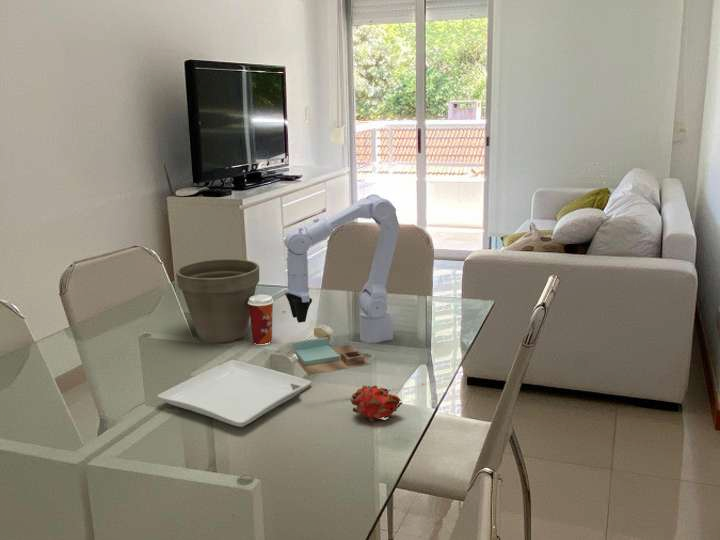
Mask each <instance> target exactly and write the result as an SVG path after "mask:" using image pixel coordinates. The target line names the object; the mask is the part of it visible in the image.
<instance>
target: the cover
mask: <svg viewBox="0 0 720 540" xmlns="http://www.w3.org/2000/svg"><path fill="white" fill-rule="evenodd" d="M329 342H330V341H329V339H328V338H327V337H326V338H319V339H318V338H315V339H314V338H313V339H306V340H300V341H294V342H293V353H295V354H296V355H297V357H298V358H299V359H300V360H301V362H302V363H303V364H304V365H311V364H318V363H324V362H330V361H336V360H340V356H339V355H338V354H337V353H336V352H335V351H334V350H333V349H332V348H331V347H332V346H330V345H329V344H330V343H329Z"/></svg>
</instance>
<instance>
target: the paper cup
mask: <svg viewBox="0 0 720 540" xmlns="http://www.w3.org/2000/svg"><path fill="white" fill-rule="evenodd" d="M274 302H275V300H274V299H273V297H272V295H269V294H254V296H251V297H250V298H249V301H248V304H249V310H250V319H249V321H250V326H251V335H252V336H251V337H252V342H253V343H252V344H254V343H256V344H265V343H269V342H271V341H273V306H274V305H273V303H274ZM271 343H272V342H271Z"/></svg>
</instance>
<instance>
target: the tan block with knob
mask: <svg viewBox="0 0 720 540" xmlns="http://www.w3.org/2000/svg"><path fill="white" fill-rule="evenodd" d="M313 335H314V336H315V337H316V339H319V338H326V337H327V338H328V339H329V342H331V334H330V333H328V331H326V330H324V329H323V328H321V327H315V328H313Z"/></svg>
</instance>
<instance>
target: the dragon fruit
mask: <svg viewBox="0 0 720 540" xmlns="http://www.w3.org/2000/svg"><path fill="white" fill-rule="evenodd" d="M350 402H351V405H353V406H355V407H353V408H352V412H354V413H355V414H363V417H364V416H365V417H366V418H367V419H368V420H369V422H373V420H374V419H375V418H377V419H376V420H381V419H380V418H382V417H389V416H391V415H392V414H393V413H394V412H397V409H399V408H400V406H401V405H403V402H402V400H401V398H400V397H399V396H397V395H396V394H390V393H389V390H388V389H387V388H384V387H378V386H377V385H373V386H370V385H368V386H367V385H362V387H361V388H358V389H357V390H356V392H354V393H352V399H350ZM365 417H364V418H365Z"/></svg>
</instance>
